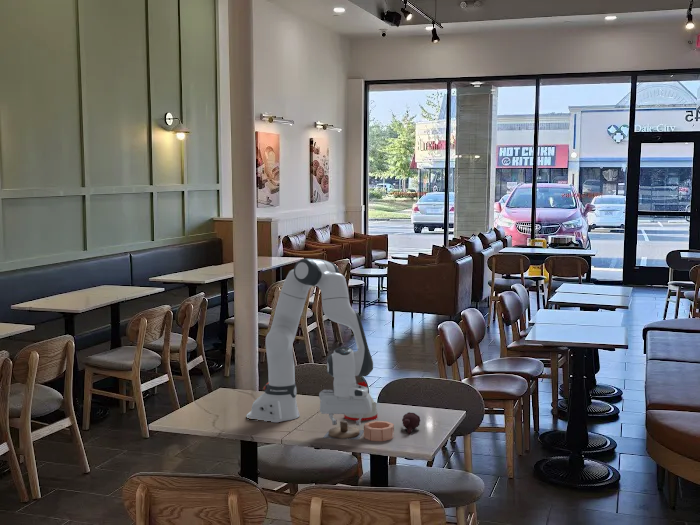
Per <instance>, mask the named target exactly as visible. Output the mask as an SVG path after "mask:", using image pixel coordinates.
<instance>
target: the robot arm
mask: <svg viewBox="0 0 700 525" xmlns="http://www.w3.org/2000/svg"><path fill="white" fill-rule="evenodd" d="M313 287H318V289H319V290H320V292H321V305H322V312H323V314H324V316H325V317H326V318H327V319H329V320H330V321H331V322H334V323H336V324H340V325H344V326H345V327H347V328H349V329H350V330H351V331H352V332H353V337H354V341H355V344H356V348H357V350H356V351H354V350H353V348H351V347H347V346H339V347H336V348H335V349H334V350H333V353H331V354H329V355H328V357H327V358H326V373H327V374H328V375H330V377H332V378H333V389H323V390H321V391H320V392H319V393H318V397H319V400H320V404H319V412H320V413H321V414H323V415H328V417H329V419H330V421H331V423H332V424H331V425H332V426H336V425H338V423H337V422H338V420H337V419H335V418H334V416H335V415H344V414H359V417H360V418H359V420H357V421H356V420H355V423H356V424H355V426H359V427H360V426H361V425H362V424H361V422H362V421H361V419H362V417H363V414H364V415H369V414H370V413H371V412H372V403H371V398H370V396H369V395H368V394H367V393H369V387H364V386H361V385H358V383H357V379H356V377H368V376H369V375H370V373H371V372H372V371H373V369H374V360H373V357H372V354H371V352H370V349H369V345H368V342H367V337H366V334H365V331H364V330H365V329H364V326H363V323H362V320H361V316H360V314H359V313H358V311H356V310H354V309H353V307H352V305H351V303H350V295H349V288H348V284H347V281H346V277H345V276H344V275H343V274H342V273H340V270H339V268H338V266H337V265H336V263H334V262H332V261H328V260H325V259H320V258H317V259H316V258H309V257H307V258H302V259H300V260H298V261H297V262H296V263H295V265H294V268H293V269H291V270H289V271H288V273H287V275H286V277H285V280H284V282H283V284H282V287H281V291H280V294H279V296H278V299H277V304H276V306H275V310H274V316H273V319H272V322H271V326H270V329H269V331H268V332H267V335H266V336H265V352H266V360H267V370H268V382H267V383H266V384H265V385H264V386H263V390H264V392H263V393H262V394H261V395H260V396H259V397H257V398H256V399H255V400H254V401H253V403H252V404H251V409H250V410H251V411H249V412H248V413H247V414H246V417H247V418H251V419H258V420H264V421H263V422H267V421H271V422H270V423H279V422H285V421H291V420H295V419H297V418H299V417H300V411H299V408H298V403H297V384H296V381H295V380H296V379H295V378H296V377H295V362H294V347H293V343H295V342H294V341H295V340H296V339H295V338H296V336H297V332H298V329H299V328H298V327H299V325H300V322H301V318H302V314H303V311H304V308H305V304H306V302H307V298H308V293H309V291H310V289H311V288H313ZM246 417H245V418H246ZM258 420H257V421H258Z"/></svg>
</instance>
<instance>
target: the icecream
mask: <svg viewBox="0 0 700 525" xmlns="http://www.w3.org/2000/svg"><path fill="white" fill-rule="evenodd" d="M420 418H421V417H420V415H418V414H417V413H415V412H410V411H409V412H407V413H405V414H404V415H403V416H402V426H403V427H404V428H405V429H407V431H406V432H407V434H408V435H410V434H412V432H413V430H415V429H416V428H418V427H419V426H420V425H421V424H420V423H421V419H420Z"/></svg>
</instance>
